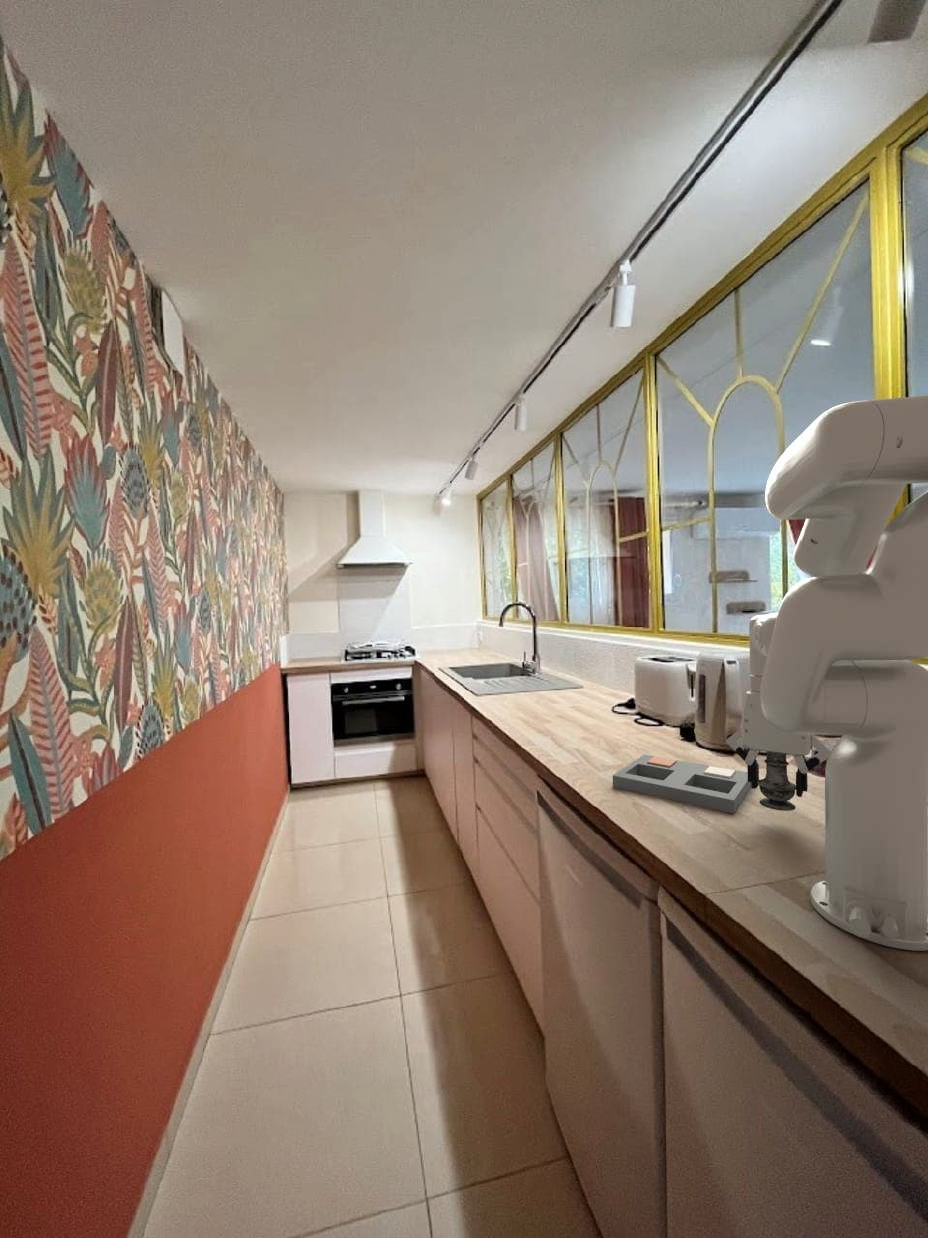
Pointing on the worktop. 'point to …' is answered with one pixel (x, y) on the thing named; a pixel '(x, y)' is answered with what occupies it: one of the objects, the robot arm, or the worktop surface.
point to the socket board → (685, 782)
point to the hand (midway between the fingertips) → (776, 789)
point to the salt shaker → (777, 784)
